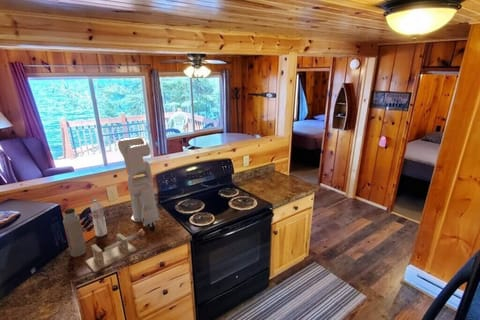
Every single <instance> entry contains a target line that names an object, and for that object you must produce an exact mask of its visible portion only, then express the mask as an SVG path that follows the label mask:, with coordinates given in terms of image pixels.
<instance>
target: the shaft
mask: <svg viewBox="0 0 480 320" xmlns="http://www.w3.org/2000/svg"><path fill="white" fill-rule="evenodd" d="M145 235H146V231H145V230H144V228H140V229H139V230H138V231H137V232H135V233H134V234H131V235H129V236H126V238H127V242H128V243H129V242H130V241H131V240H134V239H136V238H138V237H139V236H141V237H144V236H145ZM121 244H122V241H118V242H117V241H116V242H115V243H112V244H110V245H108V246H106V247H103V250H104V252H107V251H109V250H111V249H113V248H115V247H117V246H119V245H121Z"/></svg>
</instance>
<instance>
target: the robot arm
mask: <svg viewBox="0 0 480 320" xmlns="http://www.w3.org/2000/svg"><path fill="white" fill-rule="evenodd" d="M117 147H118V150H119V152H120V154H121V155H122V157H123V161H124V165H125V169H126V173H127V175H128V176H127V183H126V184H127V189H128V193H129V197H130V203H131V211H132V215H131V217H130V220H131V221H133V222H138V223H140V222H142V224H143V227H148V229H149V230H148V231H150V232H152V233H153V232H156V230H155V227H156V223H157V222H158V221H159V220H160V214H159V209H158V206H157V203H158V201H157V200H156V198H155V190H154V179H153V174H152V173H153V172H152V167H151V165H150V163H149V162H148V161H147V160H144V157H149V156H151V154H152V153H151V147H150V145H149V143H148V142H147V141H146V139H145V138H144V137H142V136H138V137H126V138H122V139H119V140H118V142H117ZM140 175H141V176H140ZM135 176H136V177H135Z"/></svg>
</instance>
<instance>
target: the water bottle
mask: <svg viewBox="0 0 480 320" xmlns="http://www.w3.org/2000/svg"><path fill="white" fill-rule="evenodd" d="M90 212H91V217H92V223H93V229H94V233H95V236H96V237H99V238H101V237H104V236H106V235H107V234H108V230H107V223H106V222H107V221H106V217H105V214H104V209H103V204H102V203H101V202H99V201H98V199H93V203H92V204H91V205H90Z"/></svg>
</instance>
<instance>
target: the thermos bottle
mask: <svg viewBox="0 0 480 320" xmlns="http://www.w3.org/2000/svg"><path fill="white" fill-rule="evenodd" d="M62 223H63V227H64V228H63V229H64V232H65V236H66V239H67V243H68V244H67V245H68V249H69V252H70V256H71V257H75V258H76V257H80V256H83V255H84V254H85V253H86V252H87V247H86V242H85V239H84V233H83V228H82V224H81V218H80V216H79V215H78V213H76V211H75V208H68V209H66V210H64V216H63V220H62Z"/></svg>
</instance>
